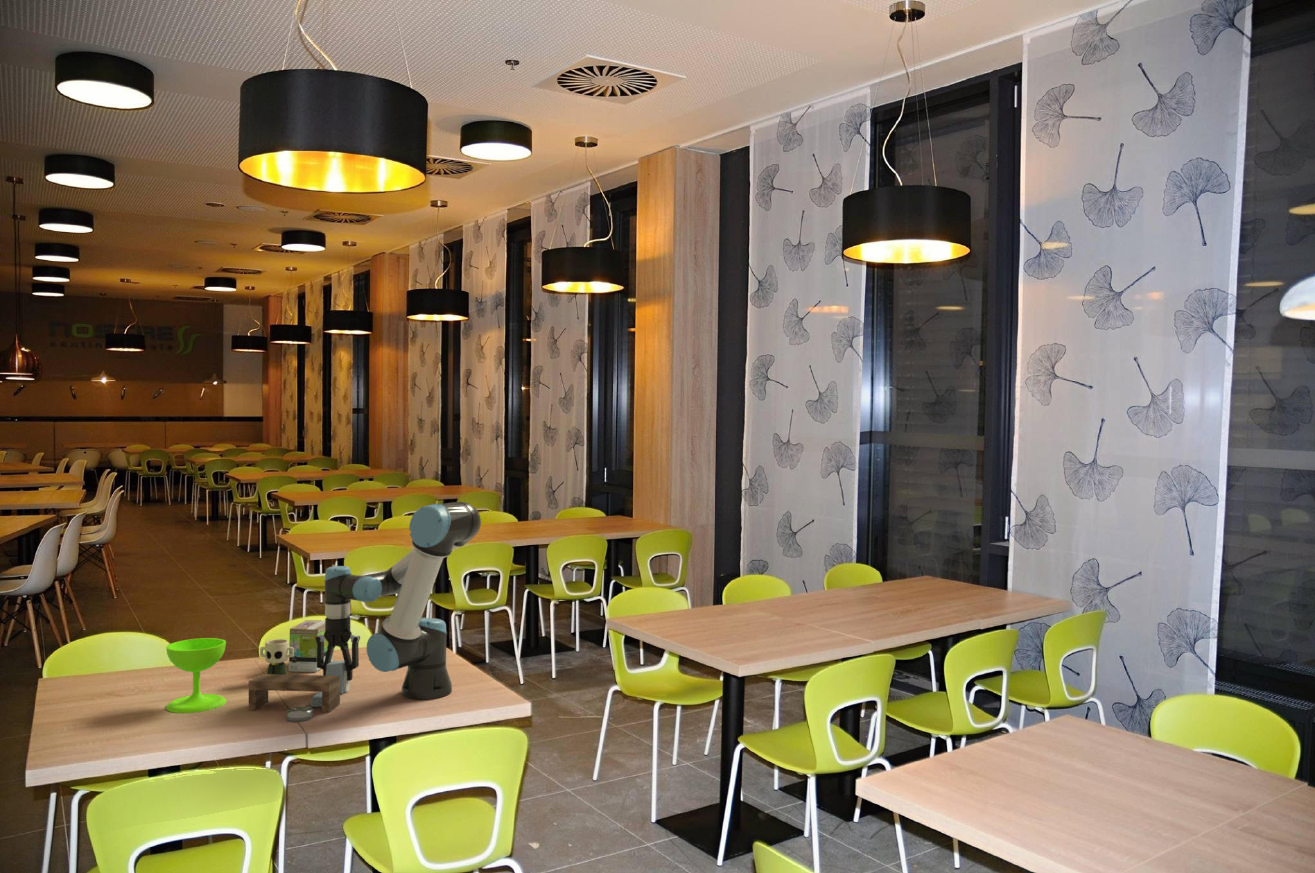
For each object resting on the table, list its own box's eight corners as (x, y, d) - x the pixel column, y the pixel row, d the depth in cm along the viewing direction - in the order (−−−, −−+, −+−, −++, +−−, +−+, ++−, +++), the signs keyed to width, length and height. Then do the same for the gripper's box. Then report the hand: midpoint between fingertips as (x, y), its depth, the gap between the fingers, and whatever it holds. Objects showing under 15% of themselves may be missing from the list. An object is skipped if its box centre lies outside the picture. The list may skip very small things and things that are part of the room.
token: (316, 715, 272) (316, 706, 272) (307, 722, 265) (307, 713, 265) (292, 714, 272) (292, 706, 272) (282, 722, 265) (282, 713, 265)
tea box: (317, 672, 317) (317, 628, 316) (287, 672, 317) (287, 628, 317) (333, 661, 332) (333, 619, 332) (305, 660, 332) (305, 618, 332)
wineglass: (157, 705, 280) (157, 644, 280) (212, 693, 292) (212, 635, 291) (179, 716, 269) (179, 653, 269) (235, 704, 281) (235, 644, 281)
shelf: (339, 704, 282) (339, 675, 281) (328, 712, 274) (328, 683, 273) (261, 702, 283) (261, 673, 283) (248, 710, 275) (248, 681, 275)
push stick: (333, 689, 297) (333, 660, 297) (348, 689, 297) (348, 660, 297) (307, 706, 279) (307, 675, 279) (324, 706, 278) (324, 676, 278)
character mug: (255, 684, 302) (255, 643, 302) (264, 678, 309) (264, 638, 309) (289, 684, 302) (289, 644, 302) (297, 678, 309) (297, 639, 309)
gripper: (370, 614, 298) (370, 687, 298) (314, 613, 299) (314, 686, 299) (361, 619, 290) (361, 694, 291) (304, 618, 291) (304, 693, 292)
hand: (337, 690), depth 295 cm, fingers closed on push stick, 5 cm apart
